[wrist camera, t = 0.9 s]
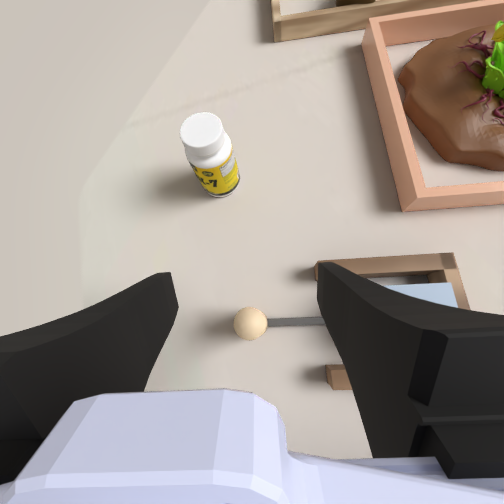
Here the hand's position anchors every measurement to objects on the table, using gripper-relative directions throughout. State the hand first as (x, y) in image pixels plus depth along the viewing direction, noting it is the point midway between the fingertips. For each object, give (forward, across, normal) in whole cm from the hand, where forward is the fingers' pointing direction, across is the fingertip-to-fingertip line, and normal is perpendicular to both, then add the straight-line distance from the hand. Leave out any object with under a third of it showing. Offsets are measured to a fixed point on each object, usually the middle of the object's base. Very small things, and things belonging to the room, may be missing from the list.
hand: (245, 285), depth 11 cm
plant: (+24, -30, -9) cm, 39 cm away
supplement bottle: (+20, +4, -3) cm, 21 cm away
